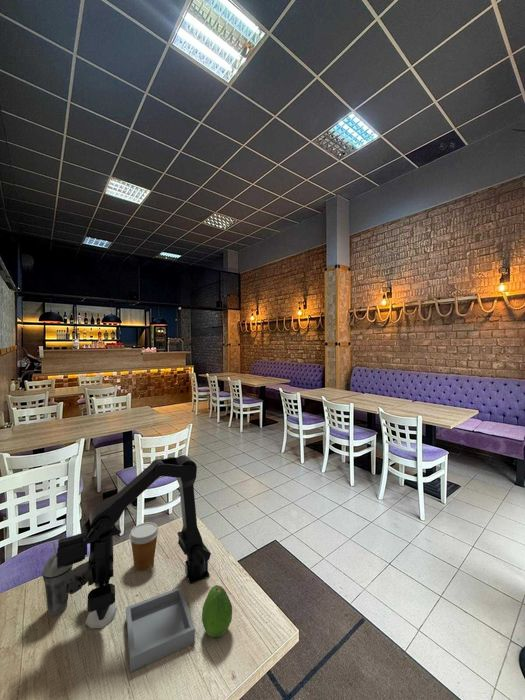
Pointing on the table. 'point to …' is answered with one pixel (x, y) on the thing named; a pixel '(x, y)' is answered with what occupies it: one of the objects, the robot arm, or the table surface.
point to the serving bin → (158, 628)
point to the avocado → (216, 612)
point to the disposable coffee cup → (144, 545)
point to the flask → (94, 620)
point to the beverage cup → (55, 585)
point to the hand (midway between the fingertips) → (101, 608)
